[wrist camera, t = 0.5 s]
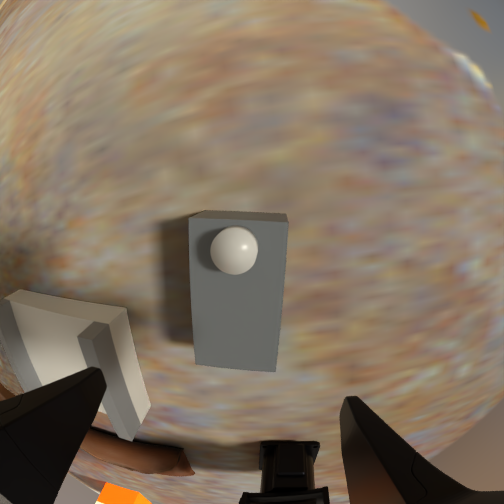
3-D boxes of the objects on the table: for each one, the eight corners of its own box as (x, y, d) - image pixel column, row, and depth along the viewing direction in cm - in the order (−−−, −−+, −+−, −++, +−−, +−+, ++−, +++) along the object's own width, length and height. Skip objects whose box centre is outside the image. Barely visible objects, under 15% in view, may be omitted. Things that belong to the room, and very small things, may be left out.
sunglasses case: (98, 452, 30) (74, 463, 24) (91, 416, 32) (65, 424, 26) (199, 476, 28) (183, 497, 22) (194, 436, 30) (175, 454, 24)
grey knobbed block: (276, 340, 21) (275, 383, 16) (208, 334, 22) (191, 374, 17) (285, 213, 19) (289, 226, 14) (206, 209, 19) (181, 221, 14)
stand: (150, 405, 24) (132, 441, 19) (48, 372, 26) (26, 395, 20) (126, 307, 21) (91, 340, 16) (20, 289, 23) (-12, 307, 17)
